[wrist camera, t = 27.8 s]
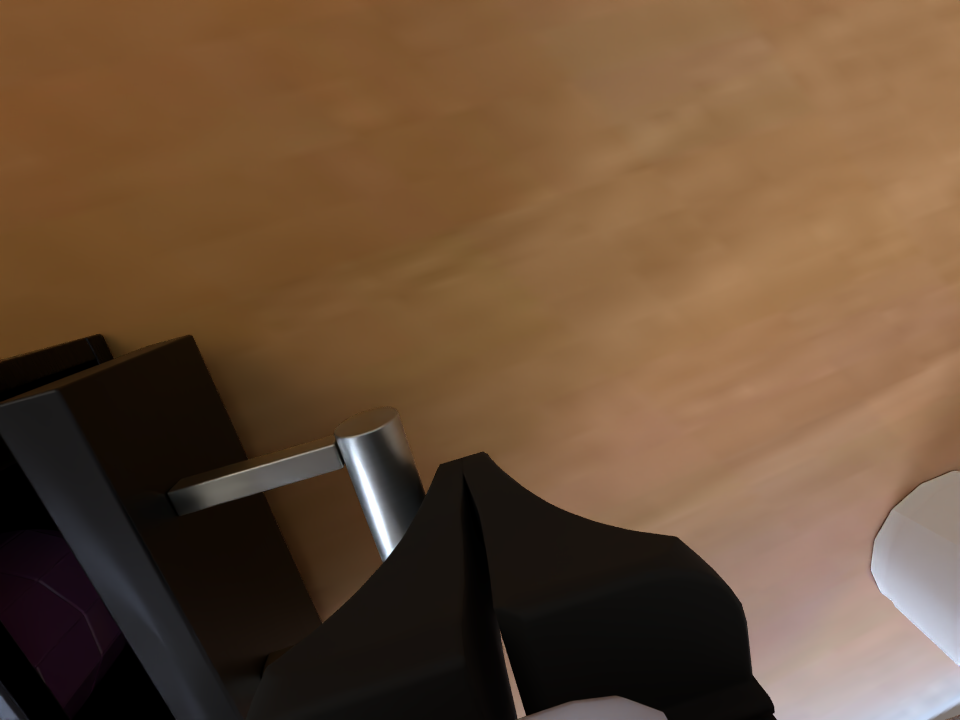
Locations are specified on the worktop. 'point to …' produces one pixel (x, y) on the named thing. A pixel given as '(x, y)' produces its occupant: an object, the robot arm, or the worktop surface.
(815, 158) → the worktop surface
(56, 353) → the cabinet
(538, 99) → the worktop surface
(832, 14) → the worktop surface
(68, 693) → the purple cup
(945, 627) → the foam cup
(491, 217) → the worktop surface
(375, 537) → the drawer
